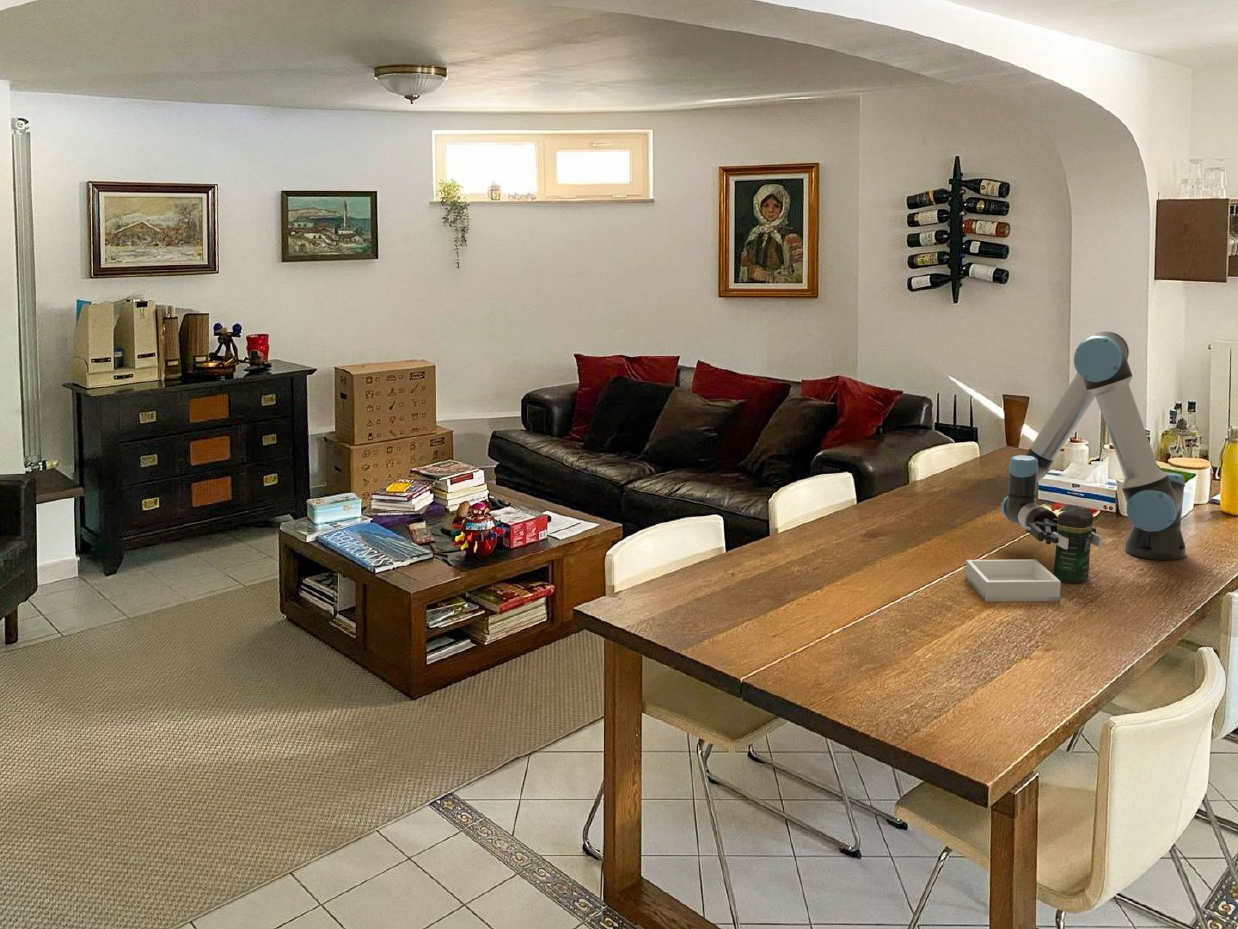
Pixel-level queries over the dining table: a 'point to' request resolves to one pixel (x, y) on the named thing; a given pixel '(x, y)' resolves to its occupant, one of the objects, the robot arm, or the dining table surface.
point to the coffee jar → (1074, 545)
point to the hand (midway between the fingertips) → (1083, 543)
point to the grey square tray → (1012, 580)
